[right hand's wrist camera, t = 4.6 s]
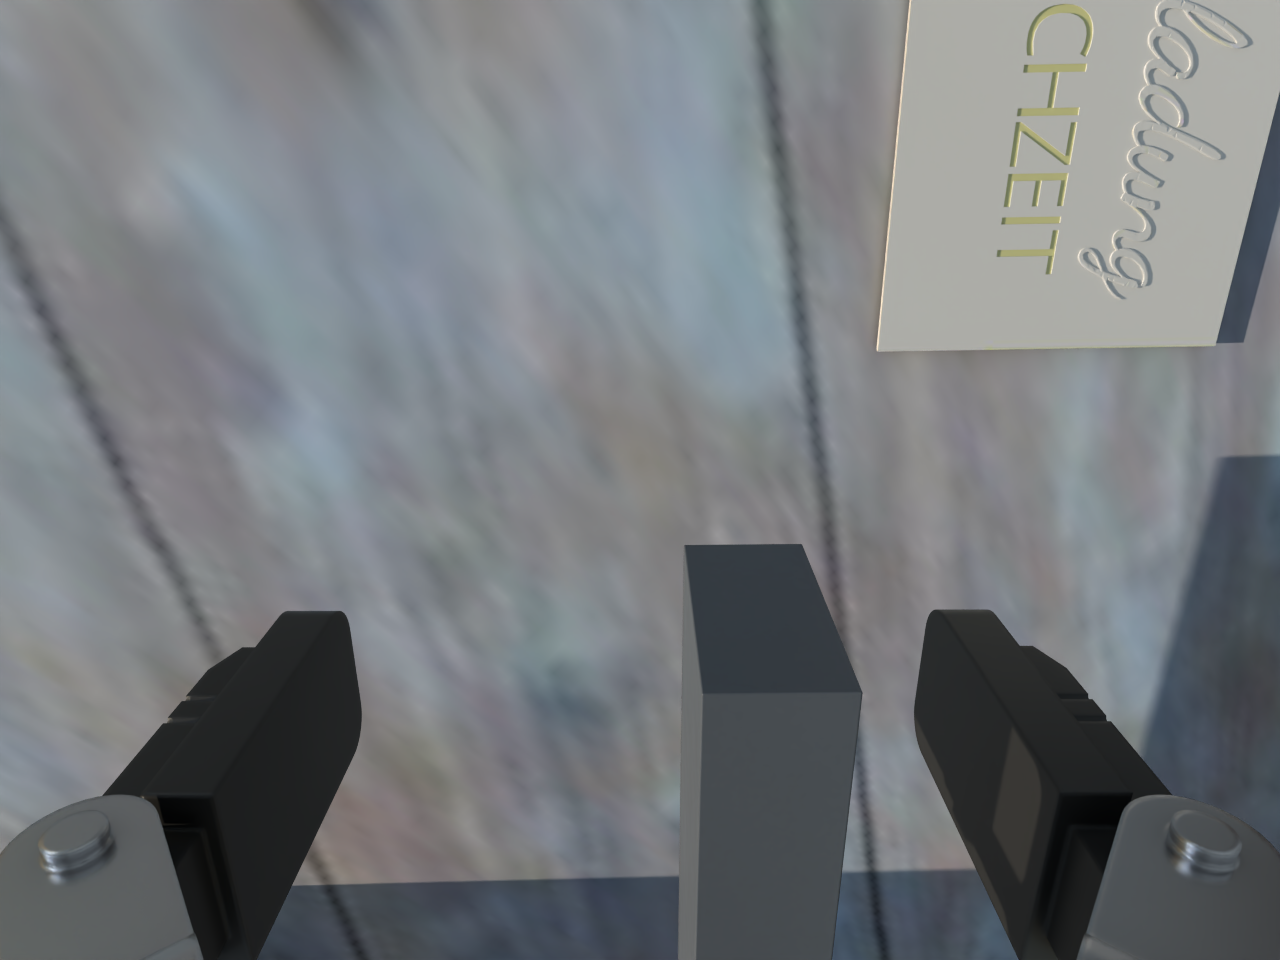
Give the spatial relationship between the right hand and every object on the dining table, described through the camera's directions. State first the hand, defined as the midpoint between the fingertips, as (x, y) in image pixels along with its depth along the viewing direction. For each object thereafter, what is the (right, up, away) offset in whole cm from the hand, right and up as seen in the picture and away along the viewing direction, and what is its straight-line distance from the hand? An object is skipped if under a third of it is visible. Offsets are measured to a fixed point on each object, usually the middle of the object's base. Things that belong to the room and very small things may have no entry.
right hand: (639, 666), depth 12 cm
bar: (+4, -13, +27) cm, 30 cm away
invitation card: (+18, +18, +22) cm, 34 cm away
